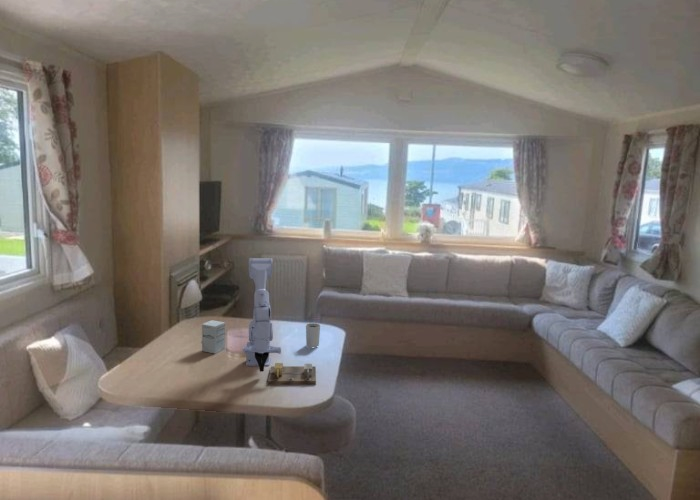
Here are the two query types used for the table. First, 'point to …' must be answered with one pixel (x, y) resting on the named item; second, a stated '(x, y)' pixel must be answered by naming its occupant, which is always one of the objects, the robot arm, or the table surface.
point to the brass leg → (278, 369)
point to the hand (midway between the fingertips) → (261, 370)
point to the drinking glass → (312, 334)
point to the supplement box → (213, 336)
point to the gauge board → (294, 375)
